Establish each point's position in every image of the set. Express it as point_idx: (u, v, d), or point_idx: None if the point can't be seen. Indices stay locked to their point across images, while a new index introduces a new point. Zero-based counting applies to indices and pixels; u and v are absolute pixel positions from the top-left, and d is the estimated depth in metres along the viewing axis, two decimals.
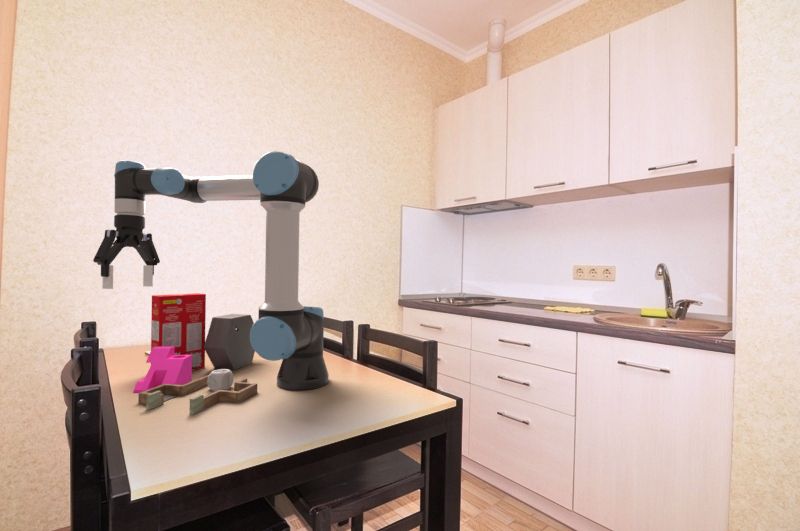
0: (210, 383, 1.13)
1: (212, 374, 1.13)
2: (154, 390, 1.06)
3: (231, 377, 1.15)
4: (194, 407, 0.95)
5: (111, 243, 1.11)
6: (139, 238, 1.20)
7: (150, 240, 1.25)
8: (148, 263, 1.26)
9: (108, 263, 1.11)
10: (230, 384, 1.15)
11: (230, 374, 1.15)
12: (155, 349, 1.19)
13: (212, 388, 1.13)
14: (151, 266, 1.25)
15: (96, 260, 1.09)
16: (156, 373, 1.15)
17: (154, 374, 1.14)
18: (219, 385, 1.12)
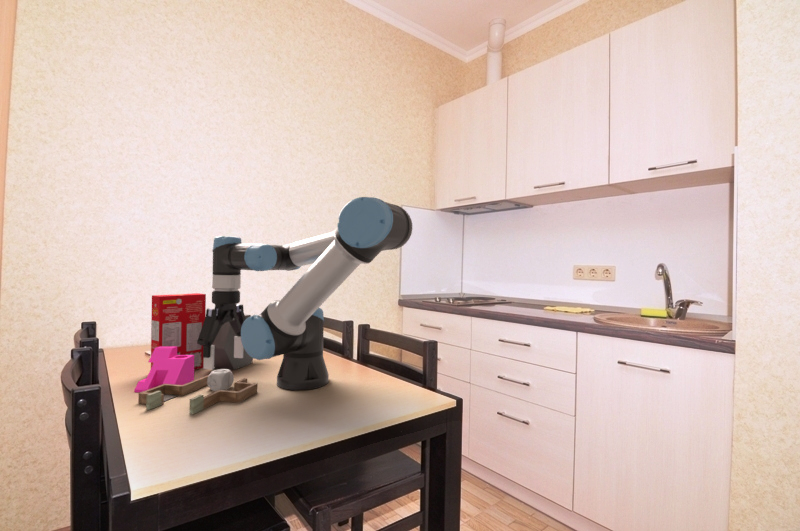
0: (210, 383, 1.13)
1: (212, 374, 1.13)
2: (154, 390, 1.06)
3: (231, 377, 1.15)
4: (194, 407, 0.95)
5: (213, 323, 1.10)
6: (234, 312, 1.18)
7: (242, 311, 1.23)
8: (239, 334, 1.24)
9: (210, 344, 1.09)
10: (230, 384, 1.15)
11: (230, 374, 1.15)
12: (158, 349, 1.20)
13: (212, 388, 1.13)
14: None
15: (200, 342, 1.07)
16: (158, 373, 1.15)
17: (155, 374, 1.14)
18: (219, 386, 1.12)
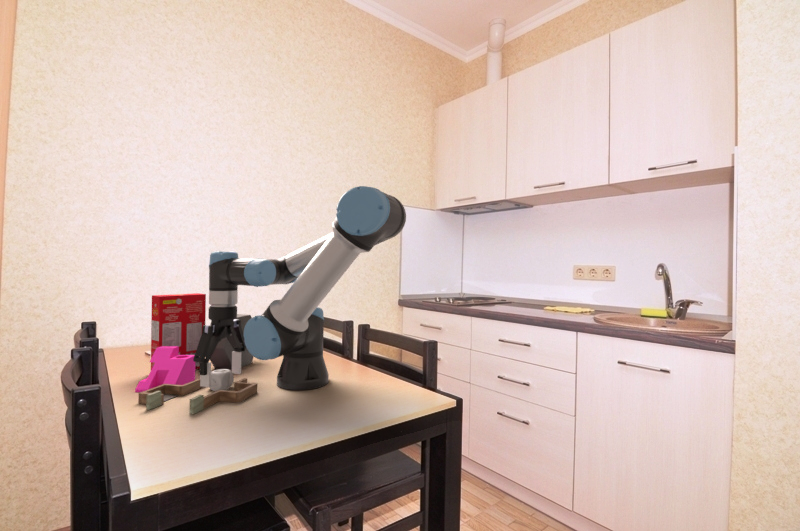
0: None
1: (212, 374, 1.13)
2: (154, 390, 1.06)
3: (231, 377, 1.15)
4: (194, 407, 0.95)
5: (209, 340, 1.08)
6: (231, 328, 1.17)
7: (239, 326, 1.21)
8: (236, 349, 1.23)
9: (207, 361, 1.08)
10: (230, 384, 1.15)
11: (230, 374, 1.15)
12: (159, 349, 1.20)
13: (212, 388, 1.13)
14: (240, 353, 1.22)
15: (196, 360, 1.06)
16: (158, 373, 1.15)
17: (156, 374, 1.15)
18: (219, 385, 1.12)
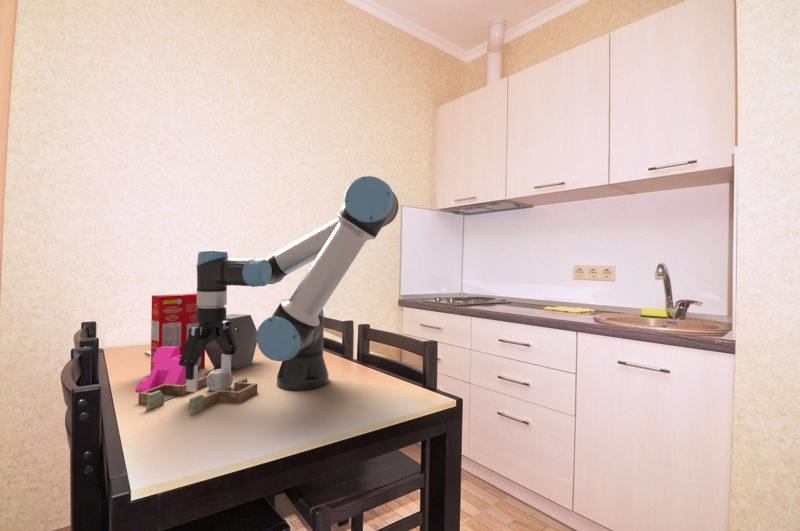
0: (209, 383, 1.13)
1: (211, 374, 1.12)
2: (154, 390, 1.06)
3: (230, 377, 1.15)
4: (194, 407, 0.95)
5: (196, 343, 1.04)
6: (220, 330, 1.12)
7: (229, 328, 1.17)
8: (226, 352, 1.18)
9: (193, 365, 1.03)
10: (229, 384, 1.15)
11: (229, 374, 1.15)
12: (160, 349, 1.20)
13: (211, 388, 1.12)
14: (230, 356, 1.17)
15: (182, 364, 1.01)
16: (159, 373, 1.15)
17: (157, 374, 1.15)
18: (219, 385, 1.11)
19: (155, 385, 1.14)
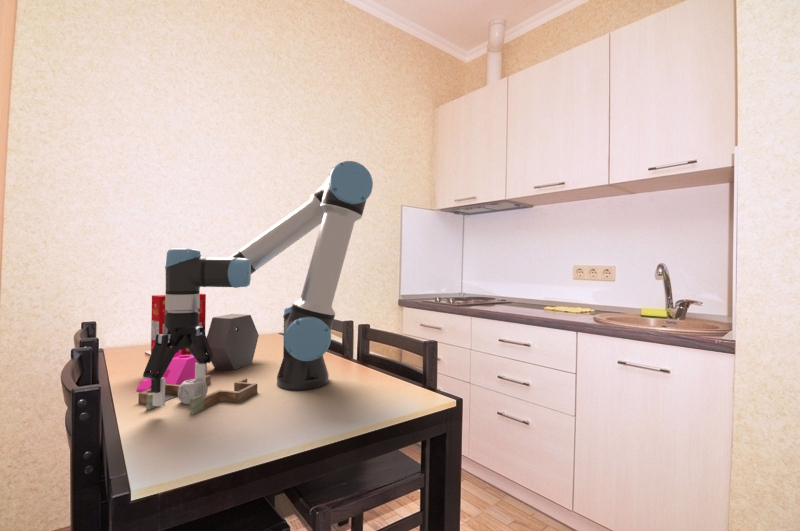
0: (181, 395, 1.02)
1: (183, 385, 1.02)
2: None
3: (205, 388, 1.05)
4: (194, 407, 0.95)
5: (163, 352, 0.93)
6: (192, 337, 1.01)
7: (203, 335, 1.06)
8: (200, 360, 1.07)
9: (160, 377, 0.92)
10: (204, 396, 1.05)
11: (204, 385, 1.04)
12: None
13: (183, 401, 1.02)
14: (204, 365, 1.06)
15: (147, 375, 0.90)
16: None
17: None
18: None
19: None
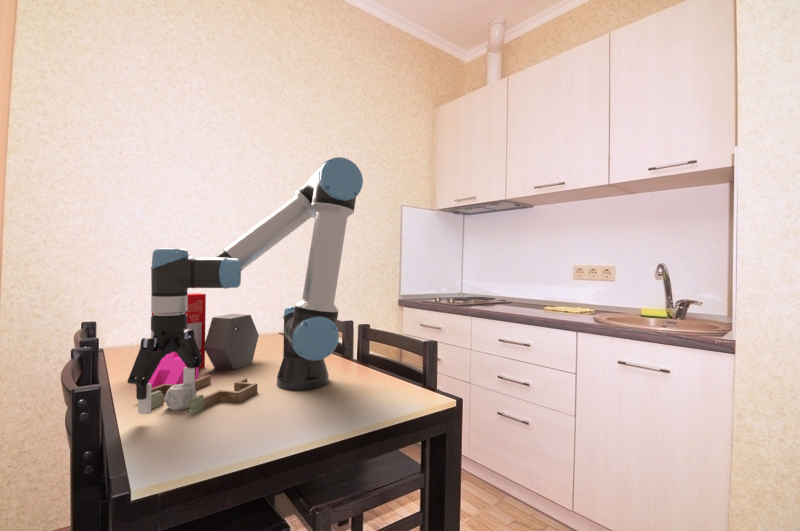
0: (168, 401, 0.98)
1: (171, 390, 0.98)
2: (154, 390, 1.06)
3: (194, 393, 1.01)
4: (194, 407, 0.95)
5: (149, 356, 0.89)
6: (180, 341, 0.97)
7: (192, 338, 1.02)
8: (189, 365, 1.03)
9: (146, 383, 0.88)
10: None
11: (192, 389, 1.00)
12: None
13: (171, 407, 0.98)
14: (193, 369, 1.02)
15: (131, 381, 0.86)
16: (161, 373, 1.15)
17: (159, 374, 1.15)
18: (180, 403, 0.97)
19: (157, 385, 1.14)
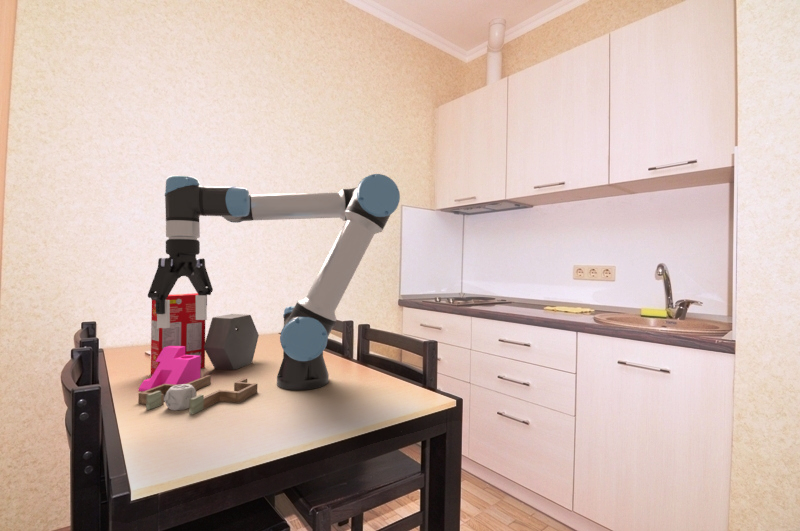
0: (168, 401, 0.98)
1: (171, 391, 0.98)
2: (154, 390, 1.06)
3: (193, 393, 1.01)
4: (194, 407, 0.95)
5: (167, 274, 0.94)
6: (194, 265, 1.03)
7: (203, 266, 1.07)
8: (201, 293, 1.09)
9: (164, 298, 0.94)
10: None
11: (192, 390, 1.00)
12: (166, 348, 1.20)
13: (171, 407, 0.97)
14: (205, 296, 1.08)
15: (151, 295, 0.92)
16: (162, 372, 1.15)
17: (160, 373, 1.15)
18: (180, 404, 0.97)
19: (158, 385, 1.14)
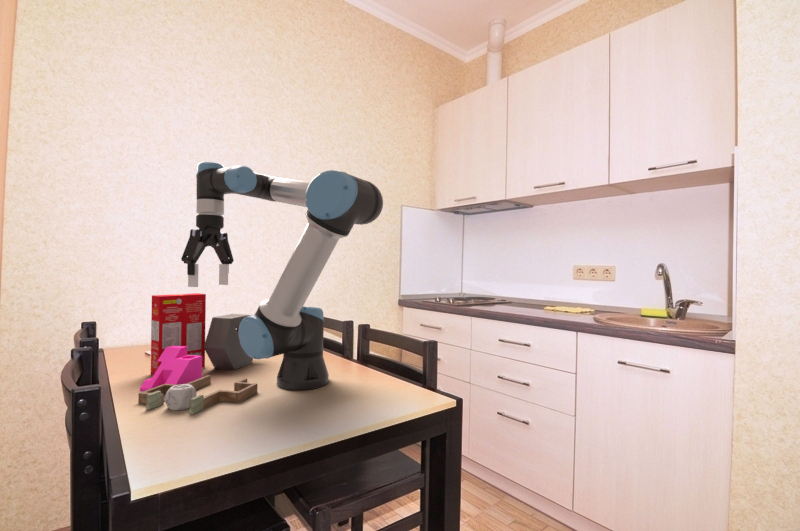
0: (168, 401, 0.98)
1: (171, 391, 0.98)
2: (154, 390, 1.06)
3: (193, 393, 1.01)
4: (194, 407, 0.95)
5: (197, 242, 1.14)
6: (218, 237, 1.22)
7: (226, 239, 1.27)
8: (223, 262, 1.28)
9: (194, 262, 1.13)
10: None
11: (192, 390, 1.00)
12: (168, 348, 1.21)
13: (171, 407, 0.97)
14: (227, 265, 1.28)
15: (184, 259, 1.12)
16: (163, 372, 1.15)
17: (161, 373, 1.15)
18: (180, 404, 0.97)
19: (159, 385, 1.14)
